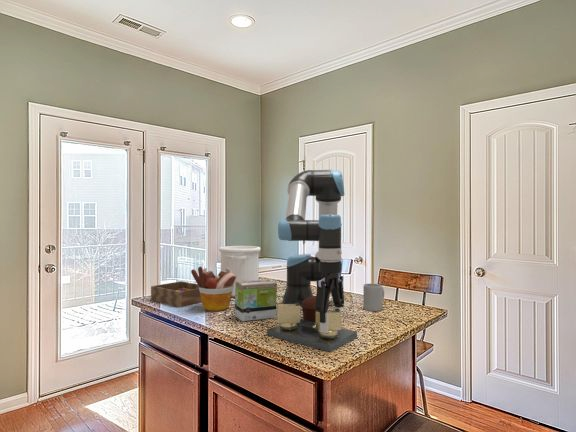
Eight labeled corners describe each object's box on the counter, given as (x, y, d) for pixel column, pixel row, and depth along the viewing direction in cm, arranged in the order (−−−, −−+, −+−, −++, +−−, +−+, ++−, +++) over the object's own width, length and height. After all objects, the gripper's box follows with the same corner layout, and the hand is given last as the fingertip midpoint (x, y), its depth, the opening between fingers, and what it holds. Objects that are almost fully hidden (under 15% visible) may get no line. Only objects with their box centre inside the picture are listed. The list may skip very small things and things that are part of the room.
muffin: (308, 327, 141) (308, 300, 141) (295, 319, 152) (296, 295, 152) (335, 323, 146) (335, 298, 146) (321, 316, 156) (321, 292, 156)
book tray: (150, 300, 184) (151, 286, 184) (181, 294, 198) (181, 281, 198) (179, 307, 170) (179, 292, 170) (210, 300, 184) (210, 286, 184)
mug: (374, 312, 164) (374, 287, 164) (359, 308, 170) (359, 284, 170) (390, 308, 171) (391, 284, 171) (375, 304, 178) (376, 282, 178)
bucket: (258, 299, 188) (258, 249, 188) (214, 298, 188) (214, 249, 188) (262, 289, 214) (262, 245, 214) (223, 288, 214) (223, 245, 214)
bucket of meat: (220, 301, 182) (221, 261, 182) (243, 307, 171) (243, 264, 171) (185, 309, 167) (185, 265, 167) (207, 316, 156) (208, 268, 156)
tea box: (242, 322, 147) (243, 285, 147) (234, 316, 156) (234, 281, 156) (277, 318, 154) (277, 282, 154) (267, 312, 163) (267, 278, 163)
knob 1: (277, 330, 130) (277, 305, 130) (276, 325, 136) (276, 301, 136) (300, 329, 130) (300, 305, 130) (298, 324, 136) (298, 301, 136)
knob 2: (320, 339, 120) (320, 312, 120) (313, 333, 126) (314, 308, 126) (343, 337, 122) (343, 311, 122) (335, 332, 128) (336, 307, 128)
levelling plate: (266, 335, 131) (266, 323, 131) (296, 323, 146) (296, 312, 146) (330, 351, 116) (330, 338, 116) (356, 337, 130) (357, 325, 130)
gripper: (323, 264, 114) (324, 339, 114) (354, 258, 130) (354, 324, 130) (303, 262, 118) (304, 334, 118) (335, 257, 135) (336, 320, 134)
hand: (330, 329), depth 124 cm, fingers closed on knob 2, 7 cm apart
